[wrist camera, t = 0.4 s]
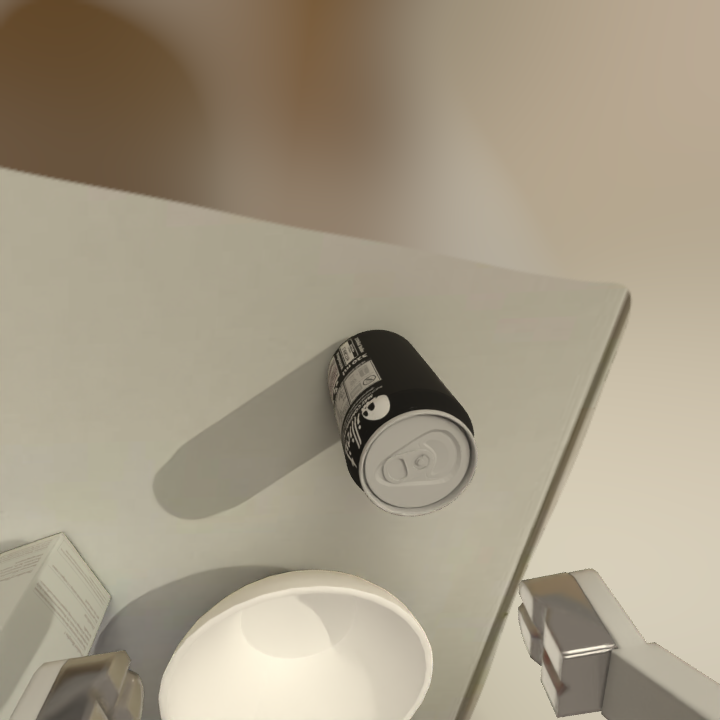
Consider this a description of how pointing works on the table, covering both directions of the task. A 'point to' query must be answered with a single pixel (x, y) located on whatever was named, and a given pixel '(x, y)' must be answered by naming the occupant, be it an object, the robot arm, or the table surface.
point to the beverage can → (399, 425)
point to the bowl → (300, 654)
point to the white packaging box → (44, 612)
